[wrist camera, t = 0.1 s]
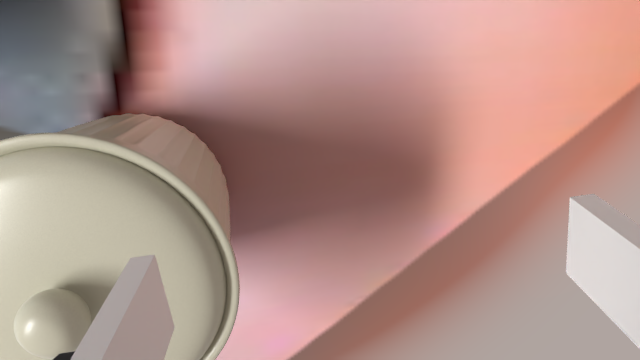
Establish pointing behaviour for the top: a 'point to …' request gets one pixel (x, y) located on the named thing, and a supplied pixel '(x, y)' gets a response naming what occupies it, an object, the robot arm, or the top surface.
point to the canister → (112, 233)
